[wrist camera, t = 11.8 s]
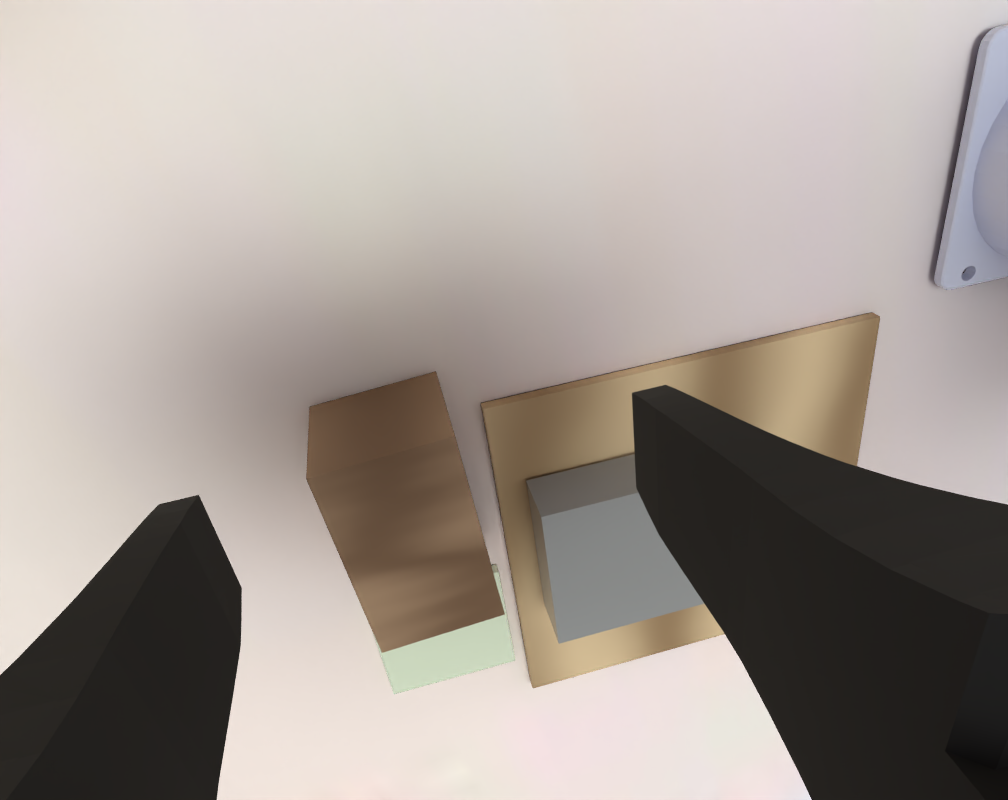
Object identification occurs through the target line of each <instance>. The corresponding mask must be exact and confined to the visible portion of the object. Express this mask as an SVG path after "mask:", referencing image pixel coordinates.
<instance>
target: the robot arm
mask: <svg viewBox="0 0 1008 800" xmlns="http://www.w3.org/2000/svg"><path fill="white" fill-rule="evenodd" d="M965 269H966V270H965ZM964 270H965V272H964V273H963V271H964ZM962 273H963V274H962ZM1005 277H1008V25H1002V26H997V27H995V28H993V29H991V30H990V31H989V32H988V33H987V34H986V35H985V36H984V38H983V39H982V41H981V44H980V47H979V50H978V55H977V61H976V66H975V71H974V76H973V81H972V86H971V91H970V97H969V102H968V107H967V112H966V117H965V122H964V127H963V132H962V138H961V143H960V148H959V153H958V158H957V163H956V168H955V174H954V179H953V184H952V189H951V194H950V199H949V204H948V210H947V215H946V220H945V225H944V230H943V235H942V240H941V245H940V251H939V256H938V261H937V266H936V271H935V283H936V285H938V286H939V287H941V288H944V289H946V290H953V289H957V288H961V287H966V286H970V285H974V284H979V283H983V282H987V281H992V280H996V279H1000V278H1005ZM632 409H633V431H634V452H635V473H636V488H637V491H638V493H639V495H640V497H641V499H642V501H643V503H644V506H645V508H646V510H647V512H648V514H649V516H650V518H651V520H652V522H653V524H654V526H655V528H656V530H657V532H658V534H659V536H660V537H661V539H662V540H663V542H664V544H665V545H666V547H667V548H668V550H669V551H670V553H671V554H672V556H673V557H674V559H675V560H676V562H677V563H678V565H679V566H680V568H681V569H682V571H683V572H684V574H685V575H686V577H687V578H688V580H689V581H690V583H691V584H692V586H693V587H694V589H695V590H696V592H697V593H698V595H699V596H700V598H701V599H702V601H703V602H704V604H705V605H706V607H707V608H708V610H709V611H710V613H711V614H712V616H713V617H714V619H715V620H716V622H717V623H718V625H719V626H720V628H721V629H722V631H723V632H724V634H725V635H726V636H727V638H728V640H729V641H730V643H731V645H732V646H733V648H734V650H735V651H736V653H737V654H738V656H739V658H740V659H741V661H742V663H743V665H744V667H745V669H746V670H747V672H748V674H749V676H750V678H751V680H752V682H753V684H754V686H755V687H756V689H757V691H758V693H759V695H760V697H761V699H762V701H763V703H764V704H765V706H766V708H767V710H768V712H769V714H770V716H771V718H772V720H773V722H774V724H775V726H776V728H777V730H778V732H779V734H780V736H781V738H782V740H783V742H784V744H785V746H786V748H787V750H788V752H789V754H790V756H791V758H792V760H793V762H794V764H795V766H796V768H797V770H798V772H799V774H800V776H801V778H802V780H803V782H804V784H805V786H806V788H807V790H808V792H809V795H810V797H811V799H812V800H1008V505H1007V504H1002V503H997V502H992V501H987V500H982V499H977V498H972V497H968V496H963V495H959V494H955V493H951V492H947V491H943V490H938V489H934V488H930V487H926V486H922V485H918V484H914V483H910V482H907V481H903V480H899V479H896V478H892V477H889V476H886V475H883V474H879V473H876V472H873V471H870V470H867V469H864V468H860V467H857V466H854V465H851V464H848V463H845V462H842V461H839V460H836V459H834V458H831V457H828V456H825V455H823V454H820V453H818V452H815V451H813V450H810V449H808V448H805V447H803V446H800V445H798V444H795V443H792V442H790V441H788V440H785V439H783V438H781V437H778V436H776V435H774V434H771V433H769V432H767V431H764V430H762V429H760V428H758V427H756V426H753V425H751V424H749V423H747V422H745V421H743V420H740V419H738V418H736V417H734V416H732V415H730V414H728V413H726V412H724V411H722V410H719V409H717V408H715V407H713V406H711V405H709V404H707V403H705V402H703V401H701V400H699V399H697V398H695V397H692V396H690V395H688V394H686V393H684V392H682V391H680V390H677V389H675V388H673V387H670V386H668V385H662V386H658V387H654V388H650V389H645V390H641V391H637V392H633V393H632ZM241 592H242V588H241V586H240V583H239V581H238V579H237V577H236V575H235V573H234V570H233V568H232V566H231V564H230V562H229V560H228V557H227V555H226V553H225V551H224V549H223V547H222V544H221V542H220V540H219V538H218V536H217V534H216V531H215V529H214V527H213V525H212V523H211V521H210V518H209V516H208V514H207V512H206V510H205V508H204V505H203V503H202V501H201V499H200V497H199V495H197V496H192V497H188V498H184V499H180V500H176V501H171V502H167V503H163V504H159V505H158V506H157V507H156V508H155V509H154V510H153V511H152V512H151V513H150V514H149V515H148V516H147V517H146V518H145V520H144V521H143V522H142V523H141V524H140V525H139V526H138V527H137V529H136V530H135V531H134V532H133V533H132V534H131V535H130V537H129V538H128V539H127V540H126V541H125V542H124V543H123V545H122V546H121V547H120V548H119V549H118V550H117V552H116V553H115V554H114V555H113V556H112V557H111V558H110V560H109V561H108V562H107V563H106V564H105V565H104V566H103V567H102V569H101V570H100V571H99V572H98V573H97V574H96V575H95V577H94V578H93V579H92V580H91V581H90V582H89V583H88V584H87V586H86V587H85V588H84V589H83V590H82V591H81V592H80V594H79V595H78V596H77V597H76V598H75V599H74V600H73V601H72V602H71V603H70V604H69V605H68V607H67V608H66V609H65V610H64V611H63V612H62V613H61V614H60V615H59V616H58V617H57V618H56V619H55V620H54V621H53V622H52V623H51V624H50V625H49V626H48V627H47V628H46V630H45V631H44V632H43V633H42V634H41V635H40V636H39V637H38V638H37V639H36V640H35V641H34V642H33V643H32V644H31V645H30V646H29V647H28V648H27V649H26V650H25V651H24V652H23V654H22V655H21V656H20V657H19V658H18V659H16V660H15V661H14V662H13V663H12V664H11V665H10V666H9V667H8V668H7V669H6V670H5V671H4V672H3V673H2V674H1V675H0V800H217V791H218V783H219V777H220V770H221V764H222V758H223V752H224V746H225V740H226V734H227V728H228V722H229V716H230V710H231V704H232V698H233V691H234V685H235V679H236V672H237V666H238V659H239V652H240V645H241Z"/></svg>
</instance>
